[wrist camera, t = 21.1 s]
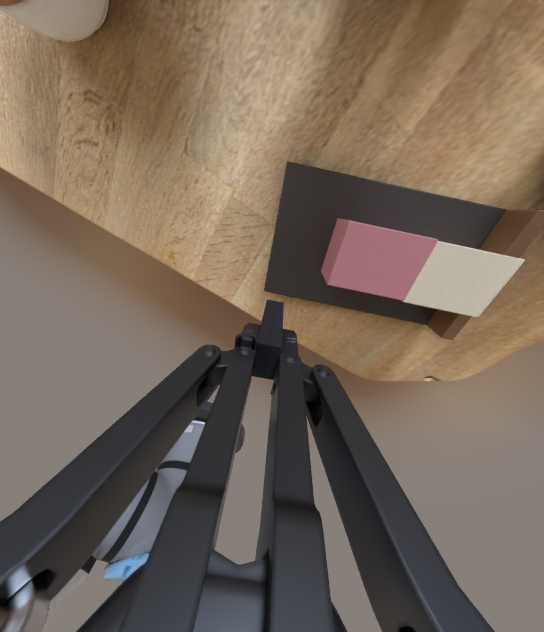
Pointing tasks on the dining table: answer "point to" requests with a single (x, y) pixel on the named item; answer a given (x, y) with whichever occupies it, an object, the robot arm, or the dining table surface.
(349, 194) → the backrest board
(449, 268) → the cream block
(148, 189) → the dining table surface
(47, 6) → the trinket box
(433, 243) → the pink block
